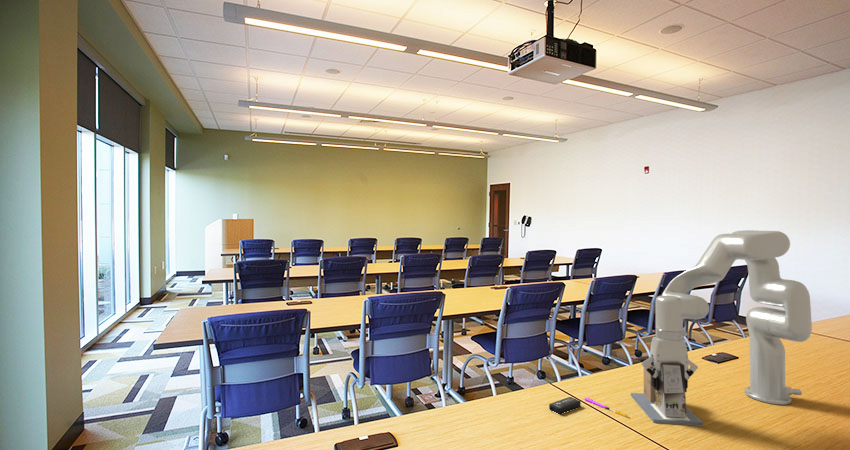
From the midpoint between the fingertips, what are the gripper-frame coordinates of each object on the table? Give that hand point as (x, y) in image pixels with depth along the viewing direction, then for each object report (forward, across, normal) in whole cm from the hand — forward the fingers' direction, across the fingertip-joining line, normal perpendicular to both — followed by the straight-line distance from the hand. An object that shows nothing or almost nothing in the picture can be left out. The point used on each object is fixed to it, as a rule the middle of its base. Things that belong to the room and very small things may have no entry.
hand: (669, 389), depth 130 cm
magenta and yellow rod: (+9, +18, -3) cm, 20 cm away
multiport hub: (+9, +32, 0) cm, 33 cm away
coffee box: (+7, 0, 0) cm, 7 cm away
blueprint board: (+8, 0, -4) cm, 9 cm away
